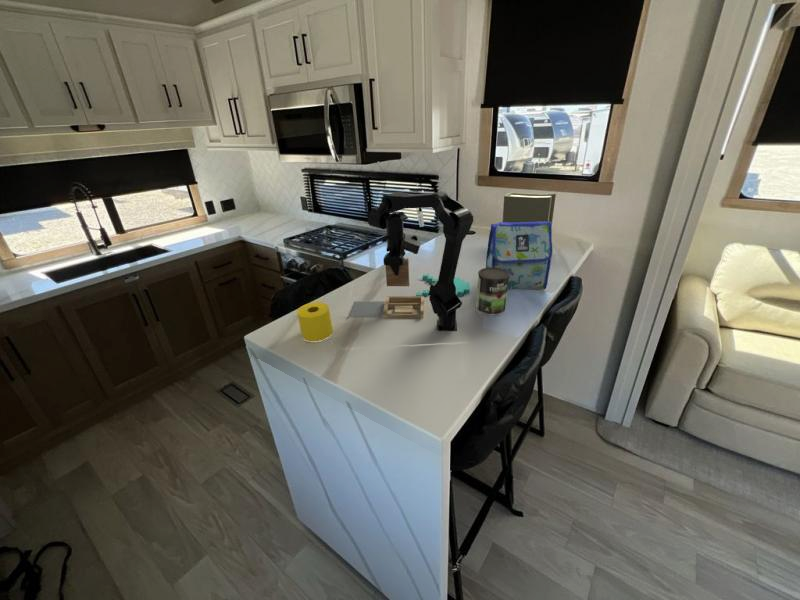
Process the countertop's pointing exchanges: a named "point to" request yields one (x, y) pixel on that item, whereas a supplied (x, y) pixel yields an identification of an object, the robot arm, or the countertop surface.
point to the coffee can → (492, 291)
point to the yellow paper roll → (315, 321)
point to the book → (528, 207)
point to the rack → (404, 301)
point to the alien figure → (460, 285)
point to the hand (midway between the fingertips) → (397, 274)
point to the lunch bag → (521, 253)
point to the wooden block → (402, 276)
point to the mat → (366, 309)
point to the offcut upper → (403, 309)
